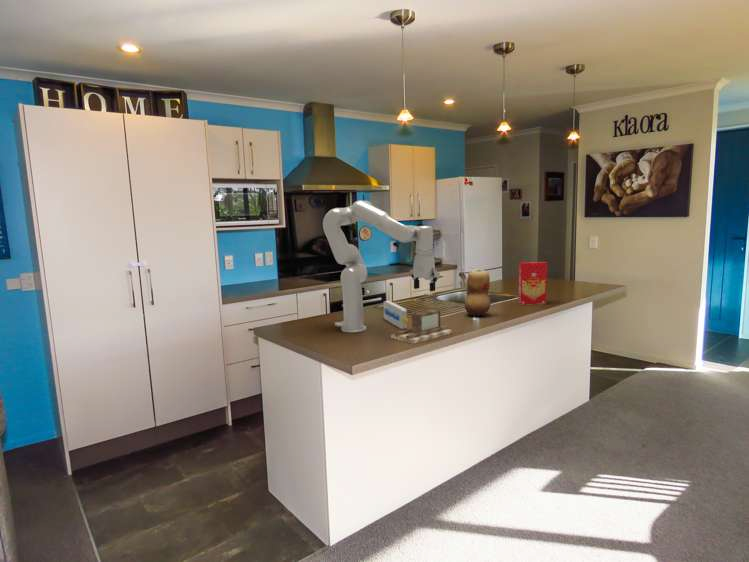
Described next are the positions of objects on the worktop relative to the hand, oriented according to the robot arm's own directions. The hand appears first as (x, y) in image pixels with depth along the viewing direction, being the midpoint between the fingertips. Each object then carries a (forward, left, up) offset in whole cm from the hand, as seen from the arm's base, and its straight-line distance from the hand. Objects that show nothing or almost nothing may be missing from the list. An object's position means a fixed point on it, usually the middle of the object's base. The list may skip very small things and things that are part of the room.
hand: (424, 289), depth 221 cm
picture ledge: (-2, -4, -21) cm, 21 cm away
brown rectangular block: (+1, -2, -19) cm, 19 cm away
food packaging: (+71, +60, -21) cm, 96 cm away
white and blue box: (-13, +19, -21) cm, 31 cm away
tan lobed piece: (+33, +35, -21) cm, 52 cm away
